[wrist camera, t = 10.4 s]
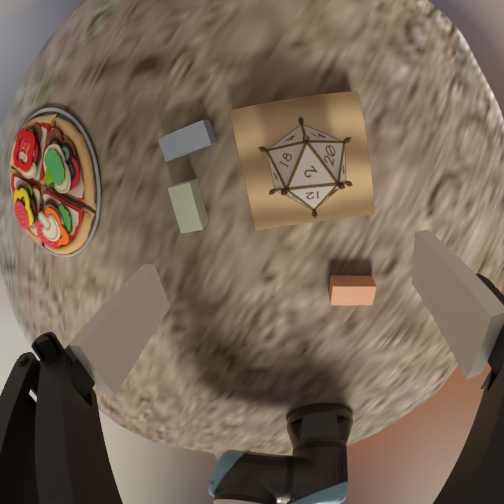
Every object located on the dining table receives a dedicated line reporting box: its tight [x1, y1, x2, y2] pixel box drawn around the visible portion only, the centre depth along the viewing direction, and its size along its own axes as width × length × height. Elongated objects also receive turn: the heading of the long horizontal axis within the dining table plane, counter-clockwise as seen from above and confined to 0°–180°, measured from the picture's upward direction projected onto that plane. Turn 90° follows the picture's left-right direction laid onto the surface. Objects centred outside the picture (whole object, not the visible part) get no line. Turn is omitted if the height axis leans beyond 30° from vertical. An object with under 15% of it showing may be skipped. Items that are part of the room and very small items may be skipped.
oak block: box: [229, 91, 375, 230], centre depth 29 cm, size 14×14×3 cm
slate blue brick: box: [158, 120, 217, 162], centre depth 30 cm, size 6×3×3 cm, turn 107°
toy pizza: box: [10, 107, 101, 257], centre depth 35 cm, size 28×28×4 cm
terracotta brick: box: [329, 275, 376, 305], centre depth 35 cm, size 6×3×3 cm, turn 93°
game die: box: [258, 116, 353, 219], centre depth 24 cm, size 9×8×10 cm
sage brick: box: [168, 179, 209, 234], centre depth 33 cm, size 6×3×3 cm, turn 12°
